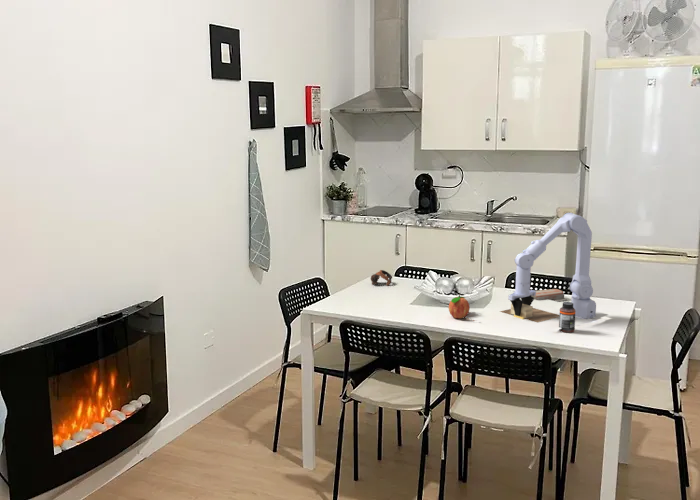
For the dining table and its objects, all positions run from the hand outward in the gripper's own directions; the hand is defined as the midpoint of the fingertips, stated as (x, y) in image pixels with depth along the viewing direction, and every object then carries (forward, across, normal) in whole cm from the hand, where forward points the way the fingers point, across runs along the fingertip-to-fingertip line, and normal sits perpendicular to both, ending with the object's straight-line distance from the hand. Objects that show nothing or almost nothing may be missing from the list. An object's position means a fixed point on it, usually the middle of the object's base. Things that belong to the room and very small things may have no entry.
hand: (521, 314), depth 287 cm
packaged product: (+3, -33, -15) cm, 36 cm away
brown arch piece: (+2, +9, -83) cm, 84 cm away
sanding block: (0, 0, 0) cm, 0 cm away
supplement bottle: (+2, -2, +21) cm, 21 cm away
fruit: (+2, +19, -17) cm, 26 cm away
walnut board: (+2, -6, 0) cm, 6 cm away
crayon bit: (+1, +2, +1) cm, 3 cm away
